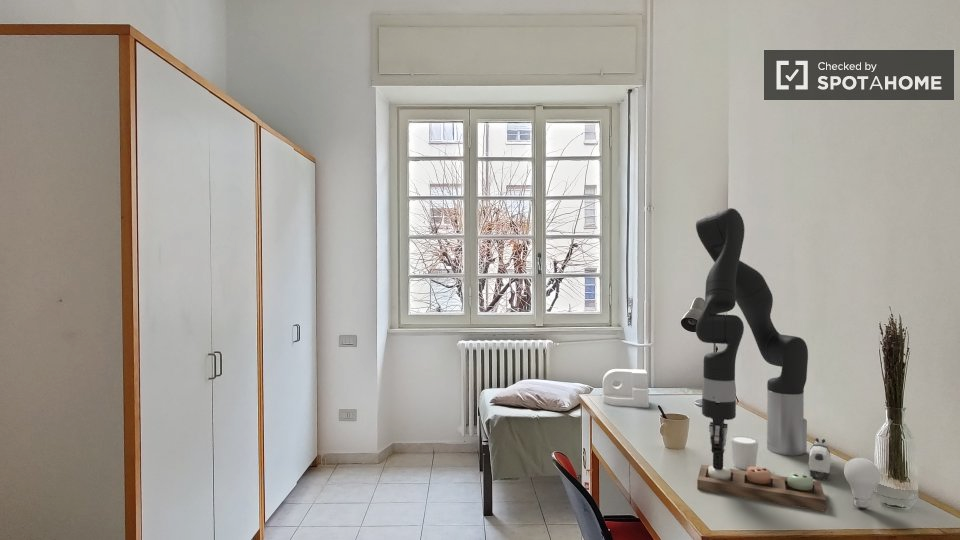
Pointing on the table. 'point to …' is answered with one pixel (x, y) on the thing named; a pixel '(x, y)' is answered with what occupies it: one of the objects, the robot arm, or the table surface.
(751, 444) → the white tapered cylinder
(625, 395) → the tape dispenser
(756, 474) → the button three
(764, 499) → the button board
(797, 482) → the button two
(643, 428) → the table surface
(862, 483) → the light bulb
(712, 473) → the button one
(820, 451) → the giant panda
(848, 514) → the table surface
